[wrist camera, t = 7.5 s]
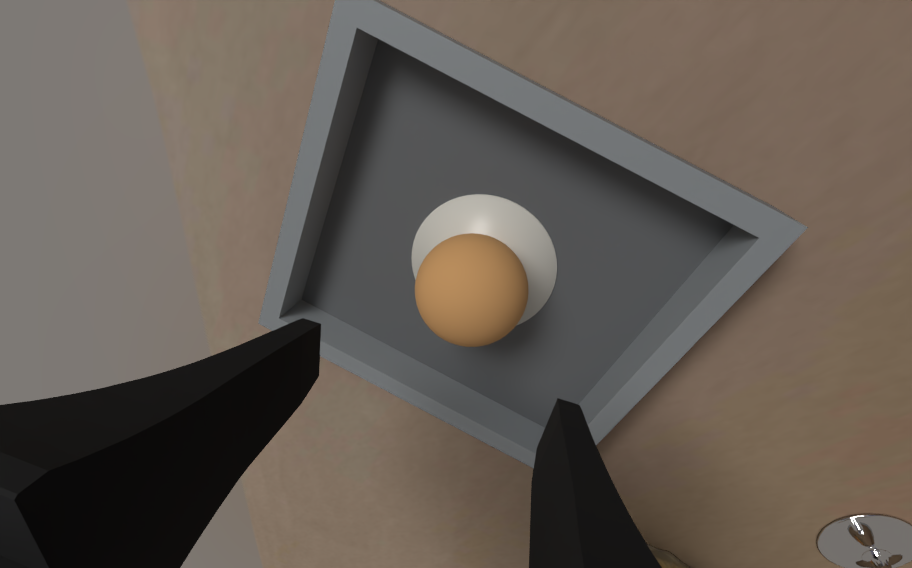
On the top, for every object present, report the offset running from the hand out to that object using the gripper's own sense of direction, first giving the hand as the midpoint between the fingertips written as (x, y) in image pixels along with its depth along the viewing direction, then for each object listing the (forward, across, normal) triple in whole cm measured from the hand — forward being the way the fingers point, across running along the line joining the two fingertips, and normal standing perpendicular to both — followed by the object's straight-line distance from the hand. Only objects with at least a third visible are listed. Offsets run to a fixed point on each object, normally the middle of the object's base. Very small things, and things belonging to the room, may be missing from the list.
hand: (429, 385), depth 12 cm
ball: (+6, 0, 0) cm, 6 cm away
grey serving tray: (+9, 0, 0) cm, 9 cm away
